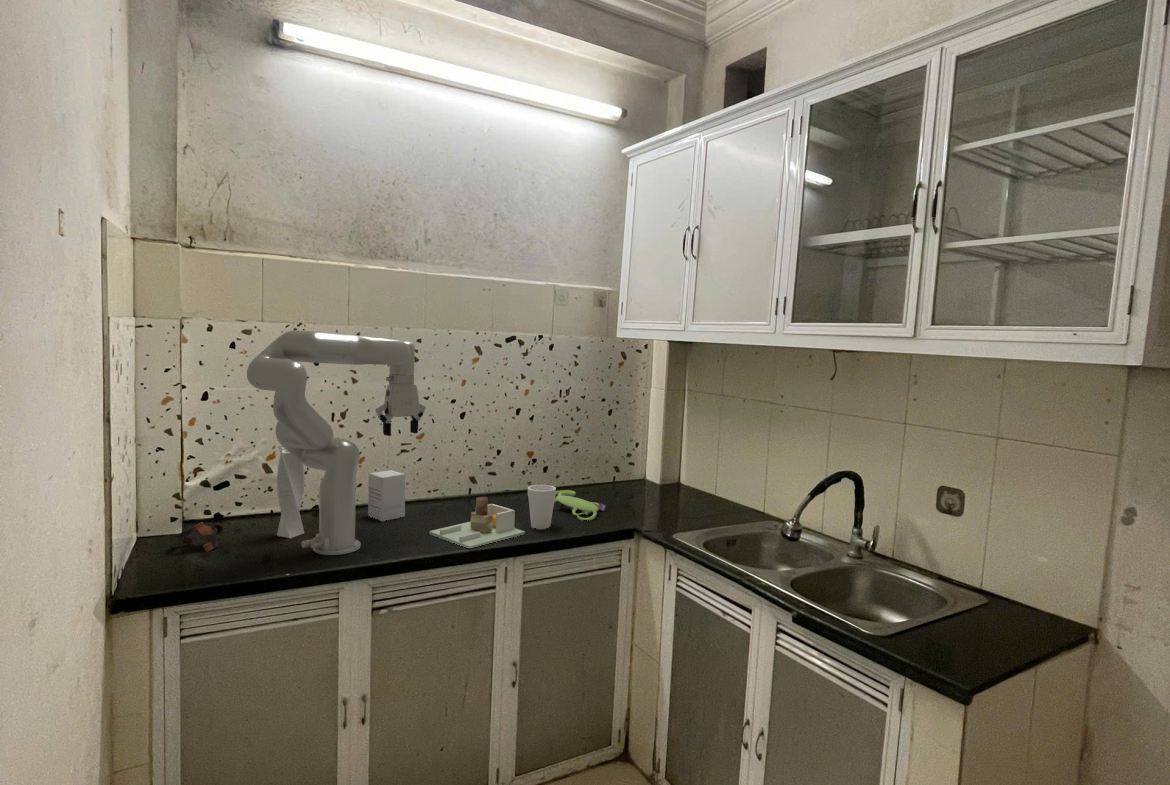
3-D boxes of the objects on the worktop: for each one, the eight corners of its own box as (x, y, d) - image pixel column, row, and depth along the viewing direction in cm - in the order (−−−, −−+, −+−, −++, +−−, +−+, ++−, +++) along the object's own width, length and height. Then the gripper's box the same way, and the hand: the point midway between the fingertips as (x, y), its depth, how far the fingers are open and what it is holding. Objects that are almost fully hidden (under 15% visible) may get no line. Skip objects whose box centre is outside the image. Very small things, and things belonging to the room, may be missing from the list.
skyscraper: (289, 540, 186) (289, 446, 184) (270, 536, 189) (270, 443, 187) (309, 533, 194) (310, 442, 192) (290, 529, 196) (291, 440, 194)
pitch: (469, 549, 184) (470, 526, 184) (429, 534, 197) (429, 512, 197) (524, 534, 201) (525, 512, 200) (484, 521, 214) (484, 500, 213)
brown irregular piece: (199, 557, 171) (182, 531, 170) (181, 566, 175) (165, 541, 174) (237, 535, 181) (221, 510, 180) (219, 543, 186) (204, 520, 185)
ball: (506, 520, 205) (499, 530, 203) (498, 517, 208) (491, 527, 206) (499, 513, 203) (493, 523, 201) (491, 510, 205) (484, 521, 203)
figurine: (560, 500, 248) (561, 486, 248) (617, 513, 232) (617, 498, 232) (529, 509, 233) (529, 494, 233) (587, 523, 217) (587, 507, 217)
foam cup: (542, 521, 217) (543, 483, 216) (560, 527, 210) (561, 488, 209) (520, 525, 210) (521, 487, 209) (538, 532, 204) (539, 492, 203)
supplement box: (391, 511, 221) (391, 469, 220) (405, 517, 215) (406, 473, 214) (367, 516, 214) (367, 472, 213) (381, 522, 209) (382, 477, 207)
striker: (484, 533, 196) (484, 501, 196) (469, 528, 201) (470, 497, 200) (492, 530, 199) (493, 499, 198) (478, 526, 204) (479, 495, 203)
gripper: (383, 381, 190) (382, 438, 191) (431, 380, 203) (430, 433, 204) (370, 379, 195) (369, 434, 196) (418, 379, 208) (417, 430, 209)
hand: (400, 434), depth 200 cm, fingers open, 9 cm apart
